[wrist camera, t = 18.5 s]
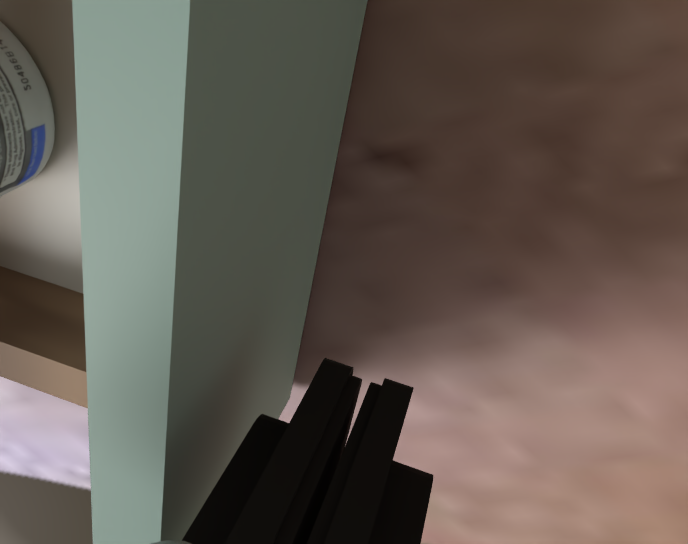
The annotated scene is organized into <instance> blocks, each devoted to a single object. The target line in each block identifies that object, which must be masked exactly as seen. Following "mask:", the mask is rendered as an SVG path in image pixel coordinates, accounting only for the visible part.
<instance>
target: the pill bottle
mask: <svg viewBox="0 0 688 544" xmlns="http://www.w3.org/2000/svg"><path fill="white" fill-rule="evenodd" d="M54 136H55V123H54V113H53V107H52V102H51V98H50V95H49V91H48V89H47V86H46V83H45V81H44V79H43V77H42V76H41V73H40V71H39V69H38V68H37V66H36V64H35V62H34V61H33V59H32V57H31V56H30V54H29V53H28V51H27V50H26V49H25V47H24V46H23V45H22V44H21V42H20V41H19V40H18V39H17V38H16V36H15V35H14V34H13V33H12V32H11V31H10V30H9V29H8V28H7V27H6V26H5V25H4V24H3V23H2V22H1V21H0V197H1V196H3V195H4V194H7V193H9V192H11V191H13V190H15V189H17V188H19V187H21V186H23V185H25V184H26V183H28V182H29V181H31V180H32V179H34V178H35V177H36V176H37V175H38V174H39V173H40V172H41V171H42V169H43V168H44V166H45V165H46V163H47V161H48V159H49V157H50V155H51V152H52V149H53V145H54Z"/></svg>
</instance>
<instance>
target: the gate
mask: <svg viewBox="0 0 688 544" xmlns="http://www.w3.org/2000/svg"><path fill="white" fill-rule="evenodd" d="M366 6H367V0H72V7H73V34H74V60H75V86H76V112H77V138H78V164H79V190H80V216H81V242H82V268H83V294H84V320H85V347H86V373H87V399H88V425H89V451H90V477H91V501H92V502H91V503H92V526H93V527H92V529H93V544H151V543H155V542H160V541H165V540H177V541H182V539H183V537H184V536H185V534H186V532H187V531H188V529H189V528H190V526H191V524H192V523H193V521H194V519H195V518H196V516H197V515H198V513H199V511H200V510H201V508H202V506H203V505H204V503H205V501H206V500H207V498H208V497H209V495H210V493H211V492H212V490H213V488H214V487H215V485H216V484H217V482H218V480H219V479H220V477H221V475H222V474H223V472H224V471H225V469H226V467H227V466H228V464H229V462H230V461H231V459H232V458H233V456H234V454H235V453H236V451H237V449H238V448H239V446H240V445H241V443H242V441H243V440H244V438H245V436H246V435H247V433H248V432H249V430H250V428H251V427H252V425H253V423H254V422H255V420H256V419H257V418H258V416H260V415H261V414H264V415H267V416H270V417H273V418H275V419H278V418H279V417H280V415H281V413H282V411H283V409H284V407H285V406H286V404H287V402H288V400H289V398H290V394H291V389H292V384H293V379H294V374H295V369H296V364H297V358H298V353H299V348H300V343H301V338H302V333H303V328H304V323H305V318H306V312H307V307H308V302H309V297H310V292H311V287H312V282H313V277H314V271H315V266H316V261H317V256H318V251H319V246H320V241H321V236H322V231H323V225H324V220H325V215H326V210H327V205H328V200H329V195H330V190H331V185H332V179H333V174H334V169H335V164H336V159H337V154H338V149H339V144H340V139H341V133H342V128H343V123H344V118H345V113H346V108H347V103H348V98H349V92H350V87H351V82H352V77H353V72H354V67H355V62H356V57H357V52H358V46H359V41H360V36H361V31H362V26H363V21H364V16H365V11H366Z"/></svg>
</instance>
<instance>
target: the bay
mask: <svg viewBox="0 0 688 544" xmlns="http://www.w3.org/2000/svg"><path fill="white" fill-rule="evenodd" d="M0 21H1V22H2V23H3V24H4V25H5V26H6V27H7V28H8V29H9V30H10V31H11V32H12V33H13V34H14V35H15V36H16V38H17V39H18V40H19V41H20V42H21V44H22V45H23V46H24V47H25V49H26V50H27V51H28V53H29V54H30V56H31V57H32V59H33V61H34V62H35V64H36V66H37V68H38V69H39V71H40V73H41V76H42V77H43V79H44V81H45V83H46V86H47V89H48V91H49V95H50V98H51V102H52V107H53V113H54V123H55V136H54V145H53V149H52V152H51V155H50V157H49V159H48V161H47V163H46V165H45V166H44V168H43V169H42V171H41V172H40V173H39V174H38V175H37V176H36V177H35V178H34V179H32V180H31V181H29V182H28V183H26V184H25V185H23V186H21V187H19V188H17V189H15V190H13V191H11V192H9V193H7V194H4V195H3V196H1V197H0V376H1V377H4V378H7V379H9V380H12V381H15V382H17V383H20V384H23V385H26V386H28V387H31V388H34V389H37V390H39V391H42V392H45V393H47V394H50V395H53V396H56V397H58V398H61V399H64V400H67V401H69V402H72V403H75V404H77V405H80V406H83V407H86V408H88V399H87V373H86V347H85V320H84V294H83V268H82V242H81V216H80V190H79V164H78V138H77V112H76V86H75V60H74V34H73V7H72V0H0Z"/></svg>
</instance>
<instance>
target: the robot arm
mask: <svg viewBox="0 0 688 544" xmlns="http://www.w3.org/2000/svg"><path fill="white" fill-rule="evenodd" d="M353 369H354V368H353V367H350V366H347V365H344V364H341V363H338V362H335V361H332V360H329V359H326V358H325V359H324V360H323V362H322V363H321V365H320V367H319V369H318V371H317V373H316V375H315V376H314V378H313V380H312V382H311V384H310V386H309V388H308V389H307V391H306V393H305V395H304V397H303V399H302V401H301V402H300V404H299V406H298V408H297V410H296V412H295V414H294V416H293V417H292V419H291V421H290V423H287V422H284V421H281V420H278V419H275V418H273V417H270V416H267V415H264V414H261V415H260V416H258V418H257V419H256V420H255V422H254V423H253V425H252V427H251V428H250V430H249V432H248V433H247V435H246V436H245V438H244V440H243V441H242V443H241V445H240V446H239V448H238V449H237V451H236V453H235V454H234V456H233V458H232V459H231V461H230V462H229V464H228V466H227V467H226V469H225V471H224V472H223V474H222V475H221V477H220V479H219V480H218V482H217V484H216V485H215V487H214V488H213V490H212V492H211V493H210V495H209V497H208V498H207V500H206V501H205V503H204V505H203V506H202V508H201V510H200V511H199V513H198V515H197V516H196V518H195V519H194V521H193V523H192V524H191V526H190V528H189V529H188V531H187V532H186V534H185V536H184V537H183V539H182V541H177V540H165V541H160V542H155V543H151V544H420V543H421V538H422V533H423V528H424V523H425V518H426V513H427V508H428V503H429V498H430V493H431V488H432V483H433V475H432V474H429V473H426V472H423V471H421V470H418V469H415V468H412V467H409V466H407V465H404V464H401V463H398V462H395V461H393V457H394V453H395V450H396V447H397V443H398V440H399V436H400V433H401V429H402V426H403V423H404V419H405V416H406V412H407V409H408V405H409V402H410V399H411V395H412V392H413V387H410V386H407V385H404V384H401V383H398V382H395V381H392V380H389V379H386V378H385V379H384V381H383V384H382V386H381V385H378V384H375V383H372V382H371V383H370V385H369V388H368V390H367V393H366V395H365V398H364V400H363V403H362V405H361V408H360V410H359V413H358V416H357V418H356V421H355V423H354V426H353V428H352V431H351V433H350V436H349V438H348V441H347V437H348V433H349V429H350V425H351V421H352V418H353V414H354V410H355V406H356V402H357V398H358V395H359V391H360V387H361V383H362V379H361V378H358V377H355V376H352V375H353ZM346 441H347V443H346ZM345 444H346V446H345Z"/></svg>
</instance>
